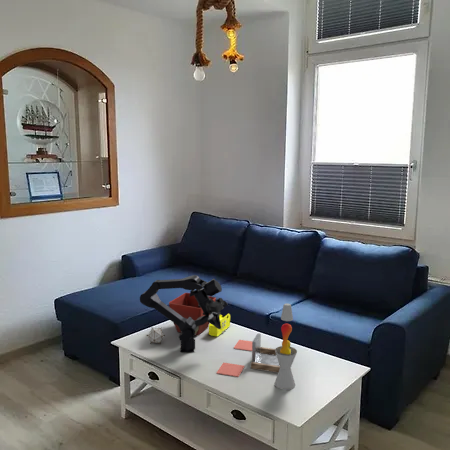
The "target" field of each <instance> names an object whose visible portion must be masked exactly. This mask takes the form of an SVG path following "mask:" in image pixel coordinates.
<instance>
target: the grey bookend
mask: <svg viewBox="0 0 450 450" xmlns="http://www.w3.org/2000/svg"><path fill="white" fill-rule="evenodd" d="M261 334H262V333H259V332H258V333H257V334H256V335H255V337H254V338H253V340H252V341H253V342H252V351H251V362H256V363H262V364H269V365H276V366H280V365H279V362H278V359H277V356H276V355H271V354H264V353H260V347H262V346H261V337H262V336H261Z"/></svg>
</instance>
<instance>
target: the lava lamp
mask: <svg viewBox="0 0 450 450" xmlns="http://www.w3.org/2000/svg"><path fill="white" fill-rule="evenodd" d="M280 319H281V320H282V321H284V322H291V321H293V320H294V318H293V308H292V304H290V303H284V304H283V306H282V311H281V316H280ZM280 330H281V335H282V342H281V345H280V346H277V347H275V348H274V349H275V353H276V355H275V356H277V359H278V362H279V366H280V369H279V372H277V374H276V375H277V376H276V378H275V381H274V386H275V387H276V388H277V389H281V390H286V391H287V390H293V389H294V388H295V387H296V382H295V379H294V378H295V377H294V374H293V371H292V369H291V368H292V365H293V363H294V361H295V358H296V356H297V352H298V350H297V349H296V348H295V347H292V345H291V341H290V340H288V339H289V336H290V334H291V333H292V331H293V327H292V325H291V324H289V323H284V324H282V325H281V327H280Z"/></svg>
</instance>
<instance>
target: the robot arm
mask: <svg viewBox="0 0 450 450" xmlns="http://www.w3.org/2000/svg"><path fill="white" fill-rule="evenodd" d="M166 289H167V290H169V289H170V290H171V289H183V290H187V291H189V293H190V295H189V297H191V296H193V295H194V297H195V298H196V300H197V302H198V304H199V306H198V307H199V308H200V307H201V309H202V310H203V313H202V314H203V315H205V316H202V317H199V318H198V319H197V320H193V319H192V318H191V317H189V318H188V319H187V318H184V317H182V316H181V315H179V314H178V313H177V312H175V311H174V310H173V309H171V308H170V307H169V305H168V304H166V303H164V302H163V301H162V300H161V299H160V297H159V295H158V294H157V293H158V292H159V290H166ZM222 290H223V289H222V285H221V284H220V282H219V281H218V280H216V279H215V278H213V279H211V280H210V281H206V280H204V279H202V278H200V277H199V276H198V275H196V274H194V275H193V274H192V275H189V276H185V277H184V278H173V279H170V278H169V279H156V280H154V281H153V282H152V284H151V285H150V286H149V288H147V290H146V291H144V292H143V293H142V294H140V296H139V302H140V304H141V305H143V306H146V308H151V309H154V310H156V311H157V312H158V313H159V314H161V315H162V316H164V317H165V318H166V319H168V320H169V321H171V323H173V324H174V323H175V324H176V325H177V326H178V327H179V329H180V330H181V332H180V334H179V336H178V338H179V341H180V351H179V352H180V353H195V350H196V339H195V336H196V335H195V334H196V332H197V331H198V329H199V327H198V326H201V325H203V324H205V323H206V322H209V324H210V323H211V324H212V325H214V326H215V327H216V328H218V329H221V324H220V319H219V315H221V313H222V311H221V310H224V308H226V307H227V306H228V302H227V301H225V300H224V299H223V298H222V297H219V298H218V299H217V298H216V299H217V300H216V301H215V302H214V301H213V299H212V298H211V299H210V298H209V297H208V296H210V297H214V296H215V295H217V294H219V293H221V292H222Z"/></svg>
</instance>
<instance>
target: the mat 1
mask: <svg viewBox="0 0 450 450" xmlns="http://www.w3.org/2000/svg"><path fill="white" fill-rule="evenodd" d="M244 368H245V365H242V364H235V363H229V362H223V363H221V365H220V367H219V369H218V370H217V371H216V372H215V373H216V374H217V375H222V376H223V375H224V376H231V377H235V378H239V377H240V375H241V373H242V372H243V370H244Z"/></svg>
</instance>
